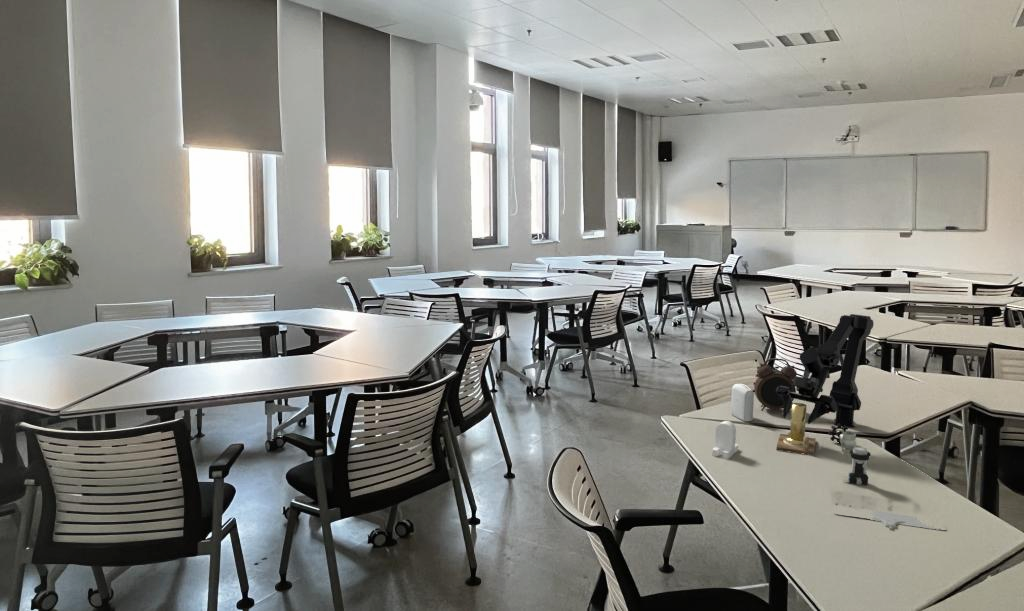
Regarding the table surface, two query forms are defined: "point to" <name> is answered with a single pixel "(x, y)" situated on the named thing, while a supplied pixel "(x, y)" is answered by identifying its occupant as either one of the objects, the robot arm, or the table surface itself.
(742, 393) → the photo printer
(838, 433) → the valve
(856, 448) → the black white upright piece
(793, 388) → the alarm clock
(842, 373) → the robot arm
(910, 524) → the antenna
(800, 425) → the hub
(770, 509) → the table surface
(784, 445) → the base plate
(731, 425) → the white phone stand
